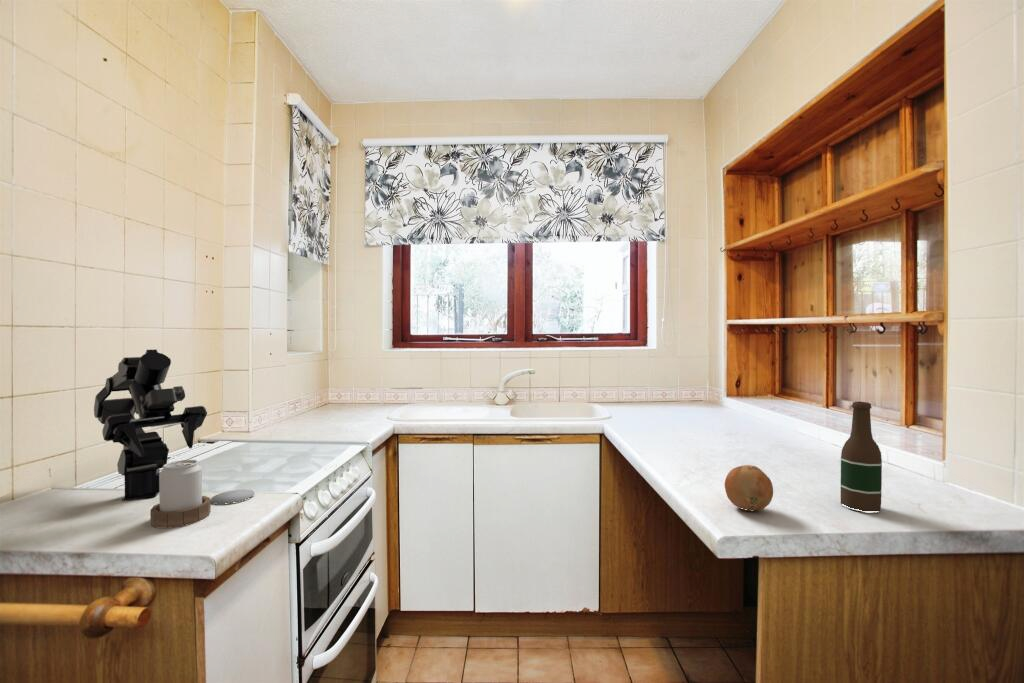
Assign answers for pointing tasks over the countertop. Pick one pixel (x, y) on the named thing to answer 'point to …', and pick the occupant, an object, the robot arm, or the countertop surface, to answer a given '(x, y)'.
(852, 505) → the beer bottle
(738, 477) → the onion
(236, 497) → the mat
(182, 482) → the can
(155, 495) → the robot arm
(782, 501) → the countertop surface
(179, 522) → the collar
